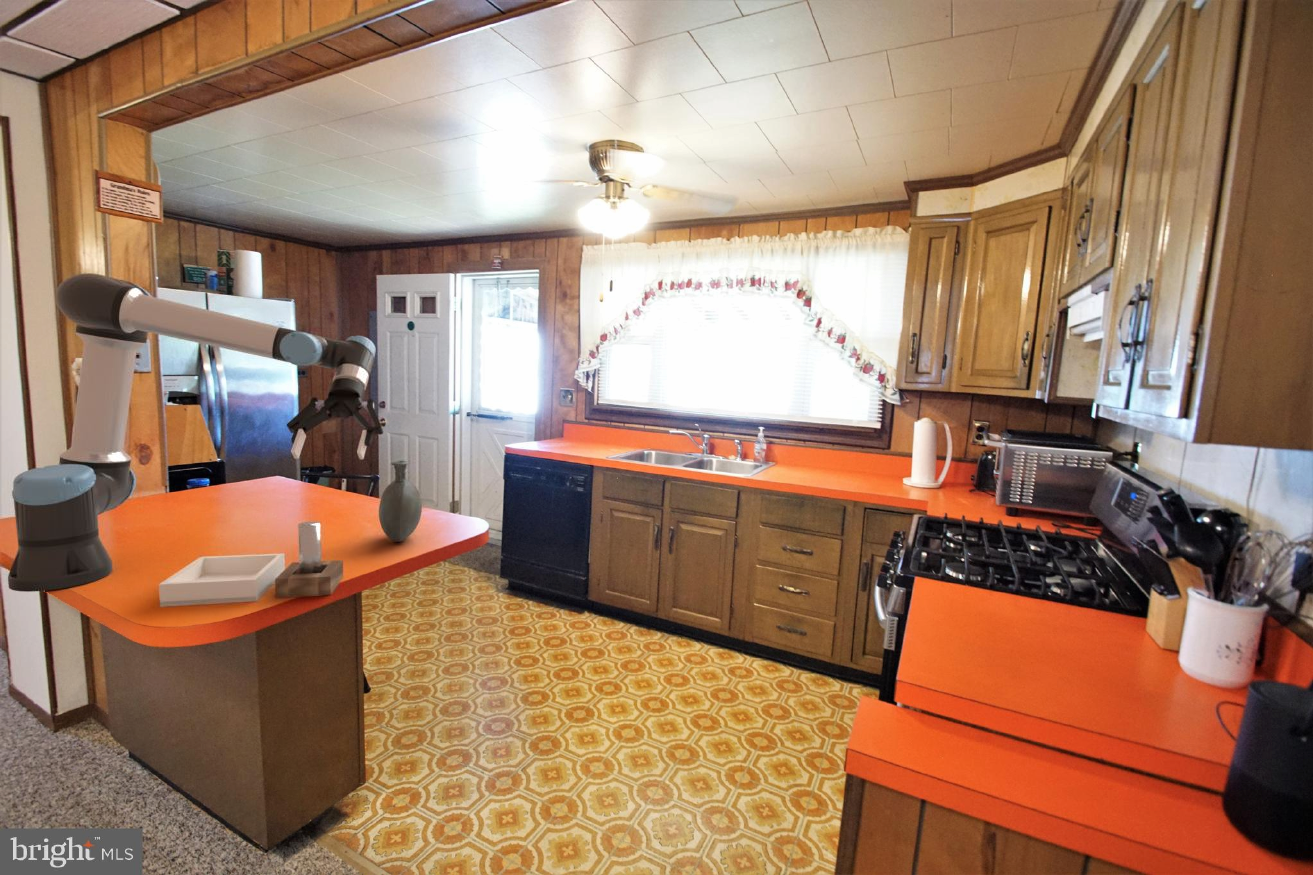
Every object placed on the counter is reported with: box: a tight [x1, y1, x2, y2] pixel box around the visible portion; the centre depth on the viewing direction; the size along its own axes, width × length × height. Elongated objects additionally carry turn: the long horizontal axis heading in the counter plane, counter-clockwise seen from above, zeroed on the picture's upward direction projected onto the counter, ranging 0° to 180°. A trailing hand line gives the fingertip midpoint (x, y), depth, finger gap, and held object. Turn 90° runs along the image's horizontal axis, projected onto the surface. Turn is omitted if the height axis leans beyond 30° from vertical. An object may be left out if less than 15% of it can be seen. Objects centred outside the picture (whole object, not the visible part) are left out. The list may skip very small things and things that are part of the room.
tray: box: [158, 553, 286, 608], centre depth 117 cm, size 16×16×4 cm
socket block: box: [274, 560, 344, 599], centre depth 120 cm, size 10×10×4 cm
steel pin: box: [297, 520, 322, 574], centre depth 119 cm, size 4×4×14 cm
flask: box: [378, 460, 423, 543], centre depth 153 cm, size 12×17×22 cm
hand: (327, 455), depth 127 cm, fingers open, 13 cm apart
